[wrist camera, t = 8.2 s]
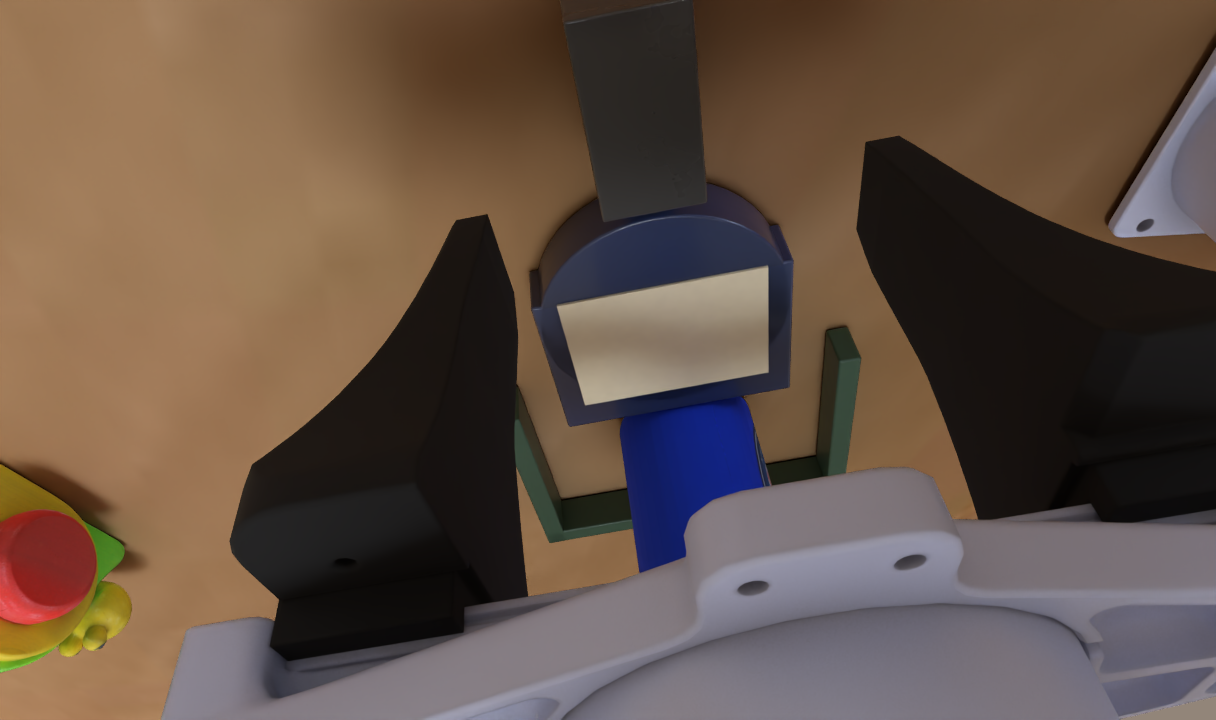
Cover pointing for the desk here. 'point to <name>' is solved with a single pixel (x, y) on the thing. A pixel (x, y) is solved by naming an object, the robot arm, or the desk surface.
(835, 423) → the green u-shaped bracket
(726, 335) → the blue stamp
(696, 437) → the beverage can
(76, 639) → the toy measuring tape
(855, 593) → the robot arm
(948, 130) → the desk surface
